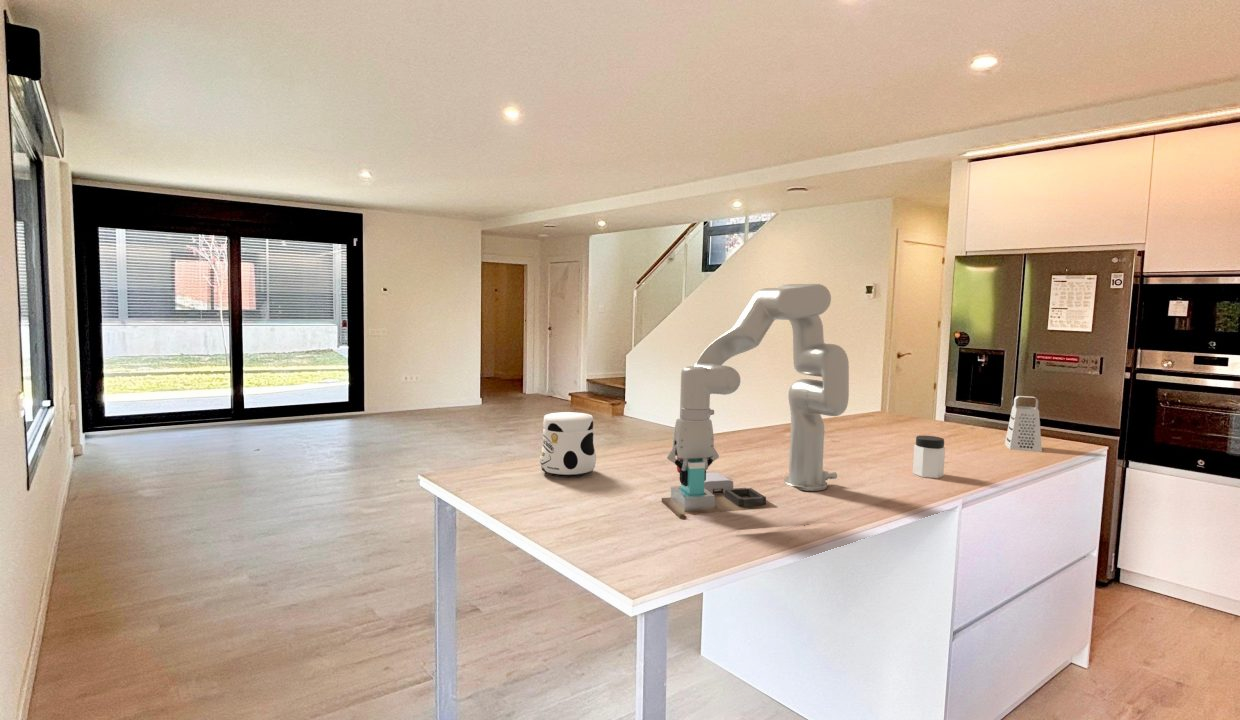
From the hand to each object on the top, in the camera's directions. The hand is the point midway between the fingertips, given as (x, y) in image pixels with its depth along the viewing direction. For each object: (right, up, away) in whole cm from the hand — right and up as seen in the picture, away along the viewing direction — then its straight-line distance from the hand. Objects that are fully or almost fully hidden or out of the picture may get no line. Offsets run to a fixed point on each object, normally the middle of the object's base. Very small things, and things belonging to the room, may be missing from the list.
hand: (692, 483), depth 168 cm
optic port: (0, -6, +1) cm, 6 cm away
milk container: (-35, -3, +33) cm, 48 cm away
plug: (0, -4, 0) cm, 4 cm away
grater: (+137, -2, +83) cm, 160 cm away
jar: (+80, -5, +39) cm, 89 cm away
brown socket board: (+7, -6, +3) cm, 10 cm away
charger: (+6, -6, +18) cm, 20 cm away
